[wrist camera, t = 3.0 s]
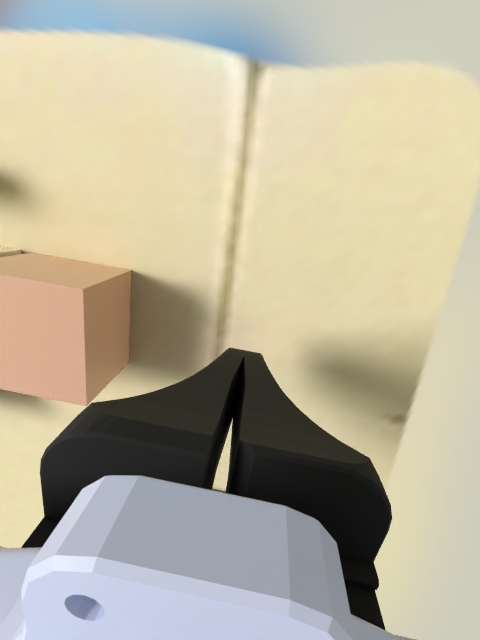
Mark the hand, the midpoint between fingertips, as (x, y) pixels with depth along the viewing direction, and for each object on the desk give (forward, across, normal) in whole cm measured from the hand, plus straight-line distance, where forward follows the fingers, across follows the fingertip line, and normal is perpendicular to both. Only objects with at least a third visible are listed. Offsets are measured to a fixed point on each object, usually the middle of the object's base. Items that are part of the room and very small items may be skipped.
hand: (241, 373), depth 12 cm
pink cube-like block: (+3, +8, 0) cm, 9 cm away
